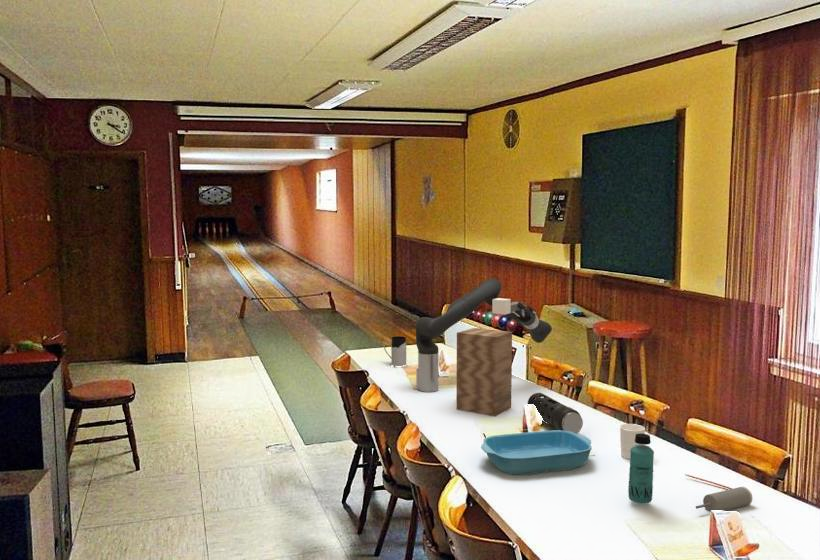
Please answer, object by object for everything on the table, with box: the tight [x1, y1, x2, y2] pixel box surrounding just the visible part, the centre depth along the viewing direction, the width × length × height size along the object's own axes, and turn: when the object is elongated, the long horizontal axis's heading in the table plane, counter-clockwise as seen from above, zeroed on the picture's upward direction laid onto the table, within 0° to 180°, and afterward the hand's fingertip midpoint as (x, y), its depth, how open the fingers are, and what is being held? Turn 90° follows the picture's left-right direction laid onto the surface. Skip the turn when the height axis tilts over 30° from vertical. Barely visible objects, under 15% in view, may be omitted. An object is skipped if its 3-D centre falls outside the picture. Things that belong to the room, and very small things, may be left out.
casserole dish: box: [480, 429, 593, 475], centre depth 229 cm, size 37×22×7 cm, turn 104°
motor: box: [684, 473, 753, 512], centre depth 203 cm, size 23×22×5 cm
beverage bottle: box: [627, 433, 655, 505], centre depth 196 cm, size 6×7×20 cm
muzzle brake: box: [527, 392, 584, 434], centre depth 266 cm, size 10×28×10 cm, turn 16°
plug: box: [491, 297, 524, 315], centre depth 305 cm, size 6×19×6 cm, turn 145°
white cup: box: [619, 423, 646, 460], centre depth 235 cm, size 8×8×10 cm
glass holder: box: [382, 335, 407, 366], centre depth 373 cm, size 9×14×15 cm, turn 57°
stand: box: [455, 327, 513, 417], centre depth 290 cm, size 18×14×32 cm
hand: (513, 303), depth 309 cm, fingers closed on plug, 4 cm apart
